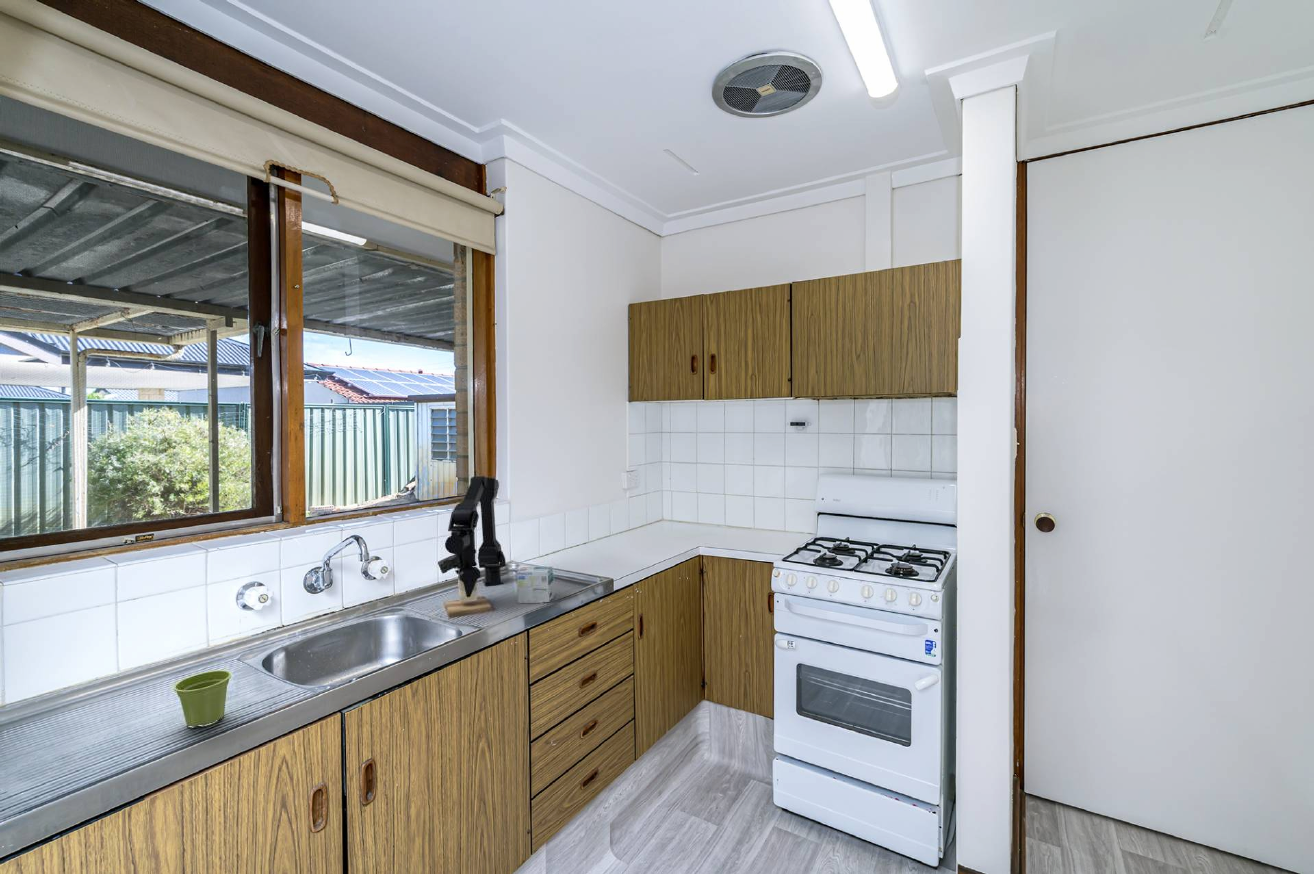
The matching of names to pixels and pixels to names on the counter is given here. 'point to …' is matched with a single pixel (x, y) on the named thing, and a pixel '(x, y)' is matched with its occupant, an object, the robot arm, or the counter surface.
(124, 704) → the counter surface
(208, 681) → the plant pot
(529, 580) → the light bulb box
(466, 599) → the beech block
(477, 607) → the tan wooden panel
